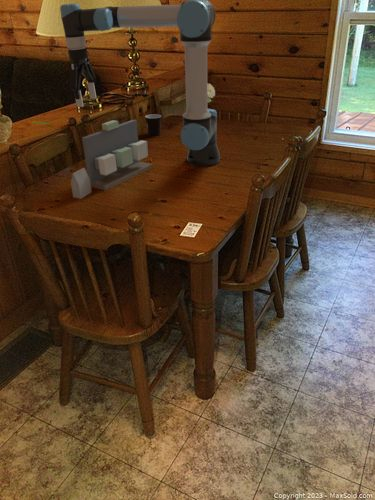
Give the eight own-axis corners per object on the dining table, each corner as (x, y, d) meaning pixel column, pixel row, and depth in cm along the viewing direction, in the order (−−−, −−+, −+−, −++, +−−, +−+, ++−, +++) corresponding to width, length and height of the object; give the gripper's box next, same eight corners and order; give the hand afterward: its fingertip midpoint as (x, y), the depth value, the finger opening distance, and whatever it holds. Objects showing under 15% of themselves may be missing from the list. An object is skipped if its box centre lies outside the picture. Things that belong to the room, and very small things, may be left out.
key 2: (148, 156, 188) (147, 141, 185) (138, 160, 184) (137, 145, 180) (133, 152, 193) (131, 138, 189) (123, 156, 188) (122, 142, 185)
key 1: (116, 170, 174) (115, 154, 171) (105, 175, 170) (103, 159, 167) (101, 166, 179) (99, 151, 175) (90, 171, 174) (88, 155, 171)
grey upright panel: (152, 167, 192) (148, 116, 181) (105, 190, 171) (98, 134, 160) (125, 161, 200) (120, 111, 188) (77, 182, 179) (68, 128, 168)
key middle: (133, 162, 181) (131, 147, 178) (122, 167, 177) (121, 152, 173) (118, 159, 186) (116, 144, 182) (107, 163, 181) (105, 148, 178)
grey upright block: (91, 192, 171) (88, 168, 165) (80, 198, 165) (76, 174, 160) (84, 190, 172) (80, 166, 167) (73, 197, 167) (69, 172, 162)
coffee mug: (160, 137, 230) (159, 118, 225) (144, 136, 232) (143, 118, 226) (165, 131, 240) (164, 113, 234) (150, 130, 241) (149, 112, 236)
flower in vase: (198, 135, 231) (198, 86, 218) (188, 130, 240) (187, 83, 227) (219, 132, 236) (220, 84, 223) (208, 127, 245) (209, 80, 232)
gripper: (81, 43, 184) (90, 95, 195) (53, 53, 163) (65, 110, 175) (97, 43, 182) (106, 95, 194) (71, 53, 162) (82, 110, 173)
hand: (87, 102), depth 184 cm, fingers open, 13 cm apart
